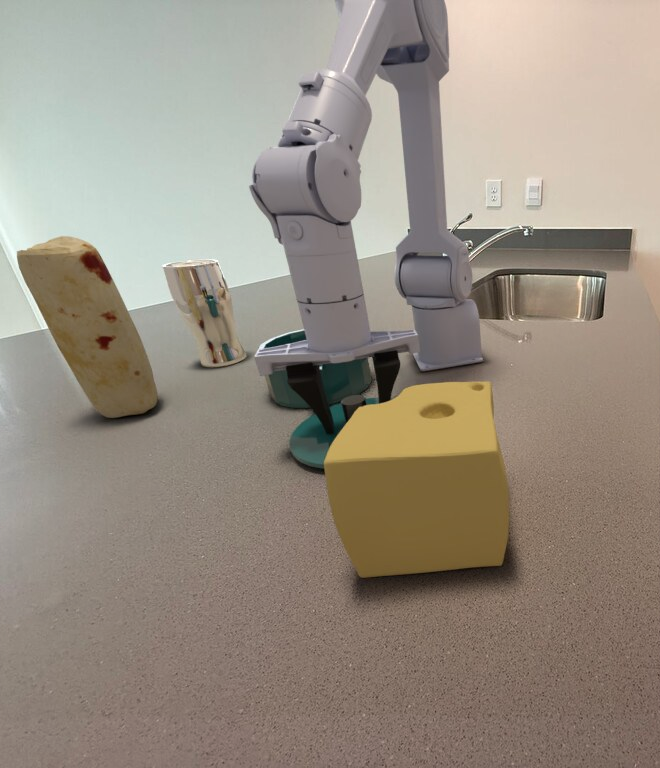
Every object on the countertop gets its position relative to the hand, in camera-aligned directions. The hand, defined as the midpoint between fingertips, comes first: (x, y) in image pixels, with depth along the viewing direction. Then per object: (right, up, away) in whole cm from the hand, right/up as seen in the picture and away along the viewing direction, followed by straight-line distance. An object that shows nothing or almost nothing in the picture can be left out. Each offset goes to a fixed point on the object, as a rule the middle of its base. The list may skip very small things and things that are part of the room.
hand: (358, 423), depth 43 cm
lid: (0, -1, 0) cm, 1 cm away
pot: (-9, +4, +12) cm, 16 cm away
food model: (-31, +1, +8) cm, 32 cm away
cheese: (+11, -7, -11) cm, 17 cm away
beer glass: (-29, +8, +22) cm, 37 cm away
